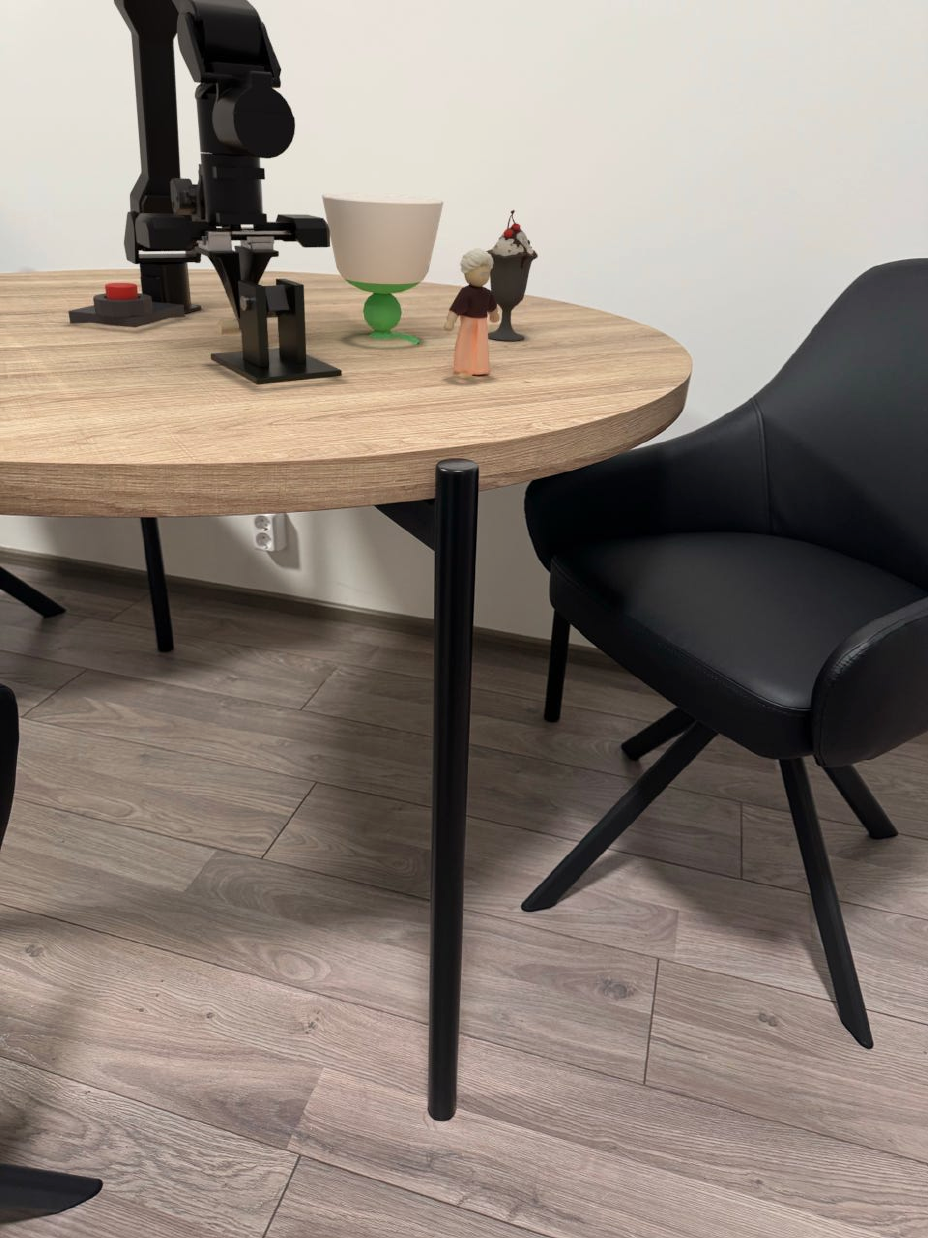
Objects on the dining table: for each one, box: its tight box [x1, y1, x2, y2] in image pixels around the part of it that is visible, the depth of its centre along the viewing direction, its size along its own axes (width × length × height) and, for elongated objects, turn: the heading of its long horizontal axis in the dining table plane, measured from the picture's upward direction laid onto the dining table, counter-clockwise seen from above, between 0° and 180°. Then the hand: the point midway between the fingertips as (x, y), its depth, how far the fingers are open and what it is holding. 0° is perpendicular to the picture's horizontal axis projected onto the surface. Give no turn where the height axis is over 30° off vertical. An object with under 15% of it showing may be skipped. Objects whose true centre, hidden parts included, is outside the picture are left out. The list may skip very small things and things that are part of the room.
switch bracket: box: [210, 278, 343, 386], centre depth 91 cm, size 12×9×9 cm
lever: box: [216, 284, 289, 335], centre depth 93 cm, size 11×5×2 cm, turn 35°
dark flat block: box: [67, 292, 186, 328], centre depth 112 cm, size 12×9×4 cm
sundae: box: [485, 209, 539, 342], centre depth 112 cm, size 7×7×15 cm
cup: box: [321, 192, 444, 345], centre depth 106 cm, size 14×14×16 cm
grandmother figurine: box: [443, 247, 501, 379], centre depth 92 cm, size 8×4×13 cm, turn 148°
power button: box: [104, 282, 139, 300], centre depth 109 cm, size 4×4×2 cm
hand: (241, 318), depth 97 cm, fingers closed, pressing on lever
